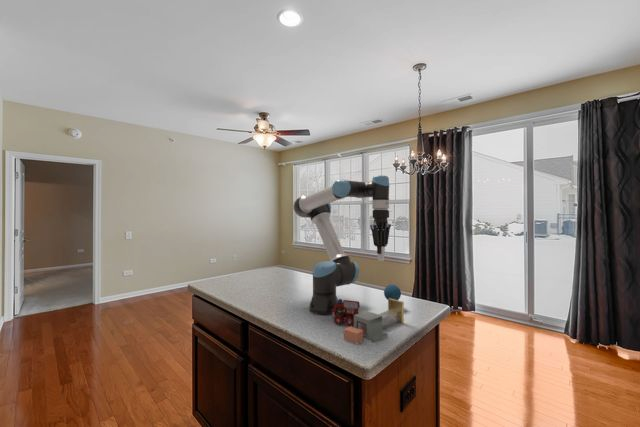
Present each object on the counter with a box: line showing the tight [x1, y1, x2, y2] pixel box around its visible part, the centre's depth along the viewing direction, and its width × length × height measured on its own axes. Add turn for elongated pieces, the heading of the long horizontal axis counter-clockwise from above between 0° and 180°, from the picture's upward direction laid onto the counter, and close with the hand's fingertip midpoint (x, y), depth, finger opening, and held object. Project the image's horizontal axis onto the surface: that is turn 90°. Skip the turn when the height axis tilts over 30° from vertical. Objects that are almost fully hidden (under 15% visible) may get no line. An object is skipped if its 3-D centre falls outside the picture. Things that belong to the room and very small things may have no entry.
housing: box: [353, 310, 388, 342], centre depth 114 cm, size 8×13×7 cm, turn 41°
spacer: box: [343, 326, 364, 344], centre depth 108 cm, size 4×6×4 cm
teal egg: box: [383, 284, 402, 301], centre depth 144 cm, size 8×8×12 cm
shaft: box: [358, 298, 405, 338], centre depth 119 cm, size 24×7×9 cm, turn 131°
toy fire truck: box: [331, 298, 360, 327], centre depth 125 cm, size 7×12×10 cm, turn 65°
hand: (380, 260), depth 131 cm, fingers closed
